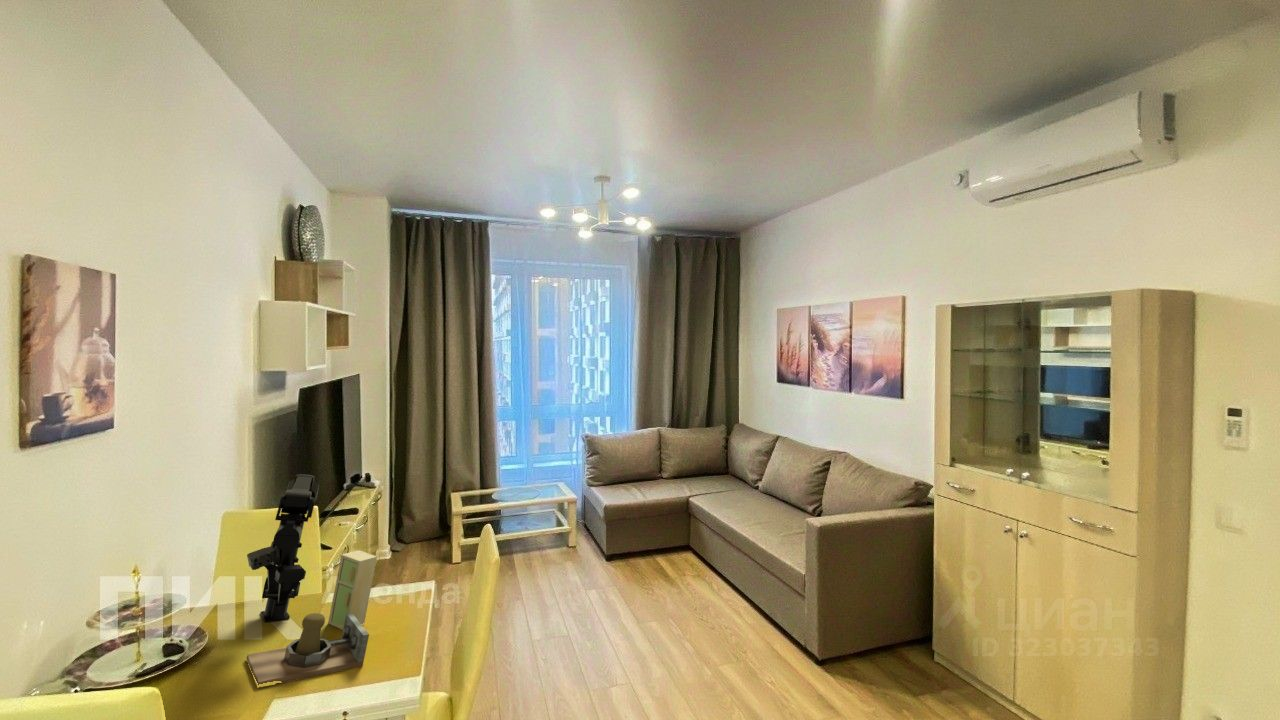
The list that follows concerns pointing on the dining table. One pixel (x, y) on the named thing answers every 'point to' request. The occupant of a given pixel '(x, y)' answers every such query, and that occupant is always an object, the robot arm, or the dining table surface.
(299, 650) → the cork
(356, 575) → the toy refrigerator
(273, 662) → the wooden peg base
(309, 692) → the dining table surface
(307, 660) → the clip ring
